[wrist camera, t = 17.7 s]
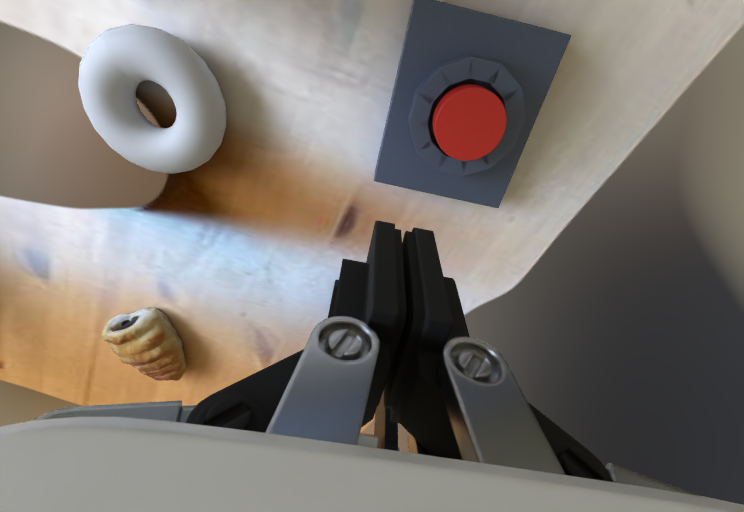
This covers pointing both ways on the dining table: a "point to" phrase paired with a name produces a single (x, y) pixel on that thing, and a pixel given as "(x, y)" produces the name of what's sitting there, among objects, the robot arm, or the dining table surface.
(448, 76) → the button housing
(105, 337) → the pastry
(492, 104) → the stop button
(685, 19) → the dining table surface
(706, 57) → the dining table surface
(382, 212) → the dining table surface
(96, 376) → the dining table surface
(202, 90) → the donut
